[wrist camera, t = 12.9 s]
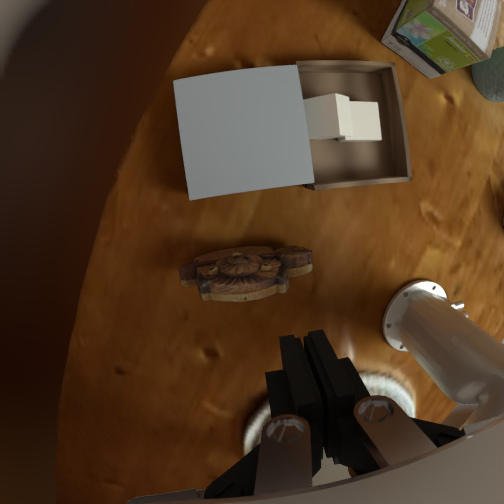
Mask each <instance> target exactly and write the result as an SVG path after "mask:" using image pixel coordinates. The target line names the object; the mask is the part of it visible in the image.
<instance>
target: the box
mask: <svg viewBox="0 0 504 504" xmlns="http://www.w3.org/2000/svg"><path fill="white" fill-rule="evenodd" d="M294 65H297V68H298V73H299V79H300V85H301V91H302V97H303V100H304V99H309V98H314V97H318V96H323V95H328V94H333V93H337V94H340V95H344V96H347V97H349V101H359V102H378V110H379V119H380V128H381V138H382V140H379V141H373V142H338V138H330V139H321V140H319V139H309V143H310V150H311V158H312V166H313V174H314V182H315V183H309V184H306V186H307V188H308V189H311V190H323V189H332V188H341V187H351V186H361V185H372V184H383V183H395V182H407V181H412V174H411V163H410V153H409V145H408V137H407V129H406V122H405V115H404V109H403V103H402V98H401V92H400V87H399V82H398V77H397V72H396V67H395V63H390V62H376V61H353V60H311V61H296V62H295V63H294Z"/></svg>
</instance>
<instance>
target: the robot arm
mask: <svg viewBox="0 0 504 504" xmlns="http://www.w3.org/2000/svg"><path fill="white" fill-rule="evenodd" d="M463 307H464V303H463V301H458V302H455V303H452V302H450V301H449V300H447V296H446V294H445V292H444V290H443V289H442V287H441V286H439V285H438V284H437V283H435V282H433V281H430V280H417V281H414V282H411V283H409V284H407V285H406V286H404V287H403V288H402V289H400V290H399V291H398V292H397V293H396V294H395V296H394V297H393V298H392V299H391V301H390V303H389V304H388V306H387V308H386V311H385V313H384V317H383V324H382V327H383V334H384V337H385V339H386V340H387V342H388V343H389V344H390V345H391V346H392V347H393V348H395V349H397V350H399V351H409V352H410V354H411V355H412V356H413V357H414V358H415V359H416V361H417V362H418V363H419V364H420V365H421V366H422V368H423V369H424V370H425V371H426V372H427V373H428V375H429V376H430V377H431V378H432V379H433V381H434V382H435V383H436V384H437V385H438V386H439V388H440V389H441V390H442V391H443V392H444V394H445V395H446V396H447V397H448V398H449V399H451V400H452V401H454V402H457V403H460V404H479V405H478V406H477V408H476V409H475V410H474V411H473V413H472V414H471V416H470V417H469V418H468V419H467V420H466V422H465V423H464V424H463V425H462V426H461V427H460V428H459V429H457V428H454V427H451V426H446V425H442V424H437V423H433V422H428V421H424V420H420V419H416V418H411V417H409V416H408V415H407V414H406V413H405V412H404V411H403V410H402V409H401V407H400V406H399V405H398V404H397V403H396V402H395V401H394V400H392V399H391V398H388V397H386V396H380V395H375V396H370V394H369V392H368V390H367V388H366V387H365V385H364V383H363V381H362V379H361V378H360V376H359V374H358V372H357V371H356V369H355V367H354V365H353V364H352V362H351V360H350V359H349V358H348V357H346V358H342V359H338V358H337V356H336V354H335V352H334V350H333V348H332V346H331V344H330V343H329V341H328V339H327V337H326V335H325V333H324V331H323V330H317V331H311V332H308V336H304V338H303V339H304V348H303V345H302V342H301V339H300V337H298V338H295V337H294V335H288V336H282V337H279V339H280V348H281V356H282V365H283V370H277V371H271V372H265V376H266V383H267V390H268V397H269V404H270V410H271V417H272V419H270V420H269V421H267V422H266V423H265V425H264V426H263V428H262V431H261V440H260V444H258V445H257V446H256V447H255V448H254V449H253V450H252V451H250V452H249V453H248V454H247V455H246V456H244V457H243V458H242V459H241V460H240V461H238V462H237V463H236V464H235V465H234V466H232V467H231V468H230V469H229V470H227V471H226V472H225V473H224V474H222V475H221V476H220V477H218V478H217V479H216V480H215V481H213V482H212V483H211V484H210V485H209V486H208V487H207V488H206V489H203V490H198V491H197V490H196V488H194V489H188V490H183V491H177V492H171V493H164V494H157V495H149V496H141V497H137V498H133V499H132V500H130V501H128V502H127V504H504V344H502V343H501V342H500V341H498V340H497V339H496V338H494V337H493V336H492V335H490V334H489V333H488V332H486V331H485V330H484V329H482V328H481V327H480V326H478V325H477V324H476V323H474V322H473V321H472V320H470V319H469V318H468V315H467V313H466V311H462V312H460V311H458V310H460V309H463ZM323 447H324V450H325V453H326V457H327V458H330V457H332V458H333V461H334V464H342V465H344V466H347V467H348V471H349V474H350V476H351V477H352V478H348V479H344V480H341V481H336V482H332V483H328V484H323V485H318V486H314V487H312V478H313V476H314V475H315V474H316V473H317V472H318V471H319V470H320V468H321V459H323Z"/></svg>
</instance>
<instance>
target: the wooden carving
mask: <svg viewBox="0 0 504 504" xmlns="http://www.w3.org/2000/svg"><path fill="white" fill-rule="evenodd" d="M193 262H194V263H190V264H186V265H184V266H182V267H180V268H179V274H180V284H181V285H183V286H186V287H194V286H198V290H199V296H200V298H201V299H202V300H204V301H207V300H216V301H233V302H242V301H249V300H256V299H260V298H264V297H267V296H270V295H273V294H275V293H285V292H287V289H288V288H289V277H296V276H302V275H305V274H307V273H309V272H311V271H312V270H313V261H312V251H311V250H308V249H306V248H303V247H298V246H287V247H284V248H280V249H277V250H274V249H273V248H271V247H265V246H245V247H236V248H231V249H224V250H218V251H214V252H211V253H207V254H204V255H201V256H198V257H196V258H195V259H194V260H193Z"/></svg>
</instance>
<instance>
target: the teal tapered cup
mask: <svg viewBox="0 0 504 504" xmlns="http://www.w3.org/2000/svg"><path fill="white" fill-rule="evenodd" d="M471 70H472V77H473V80H474V83H475V85H476V87H477V89H478V90H479V92H480V93H481V94H482V95H483V96H484V97H485V98H486V99H488V100H490V101H493V102H502V101H504V46H503V47H501V48H497V49H495V50H492V54H491V57H490V58H489V59H486V60H483V61H480V62H477V63H473V64H472V68H471Z"/></svg>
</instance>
